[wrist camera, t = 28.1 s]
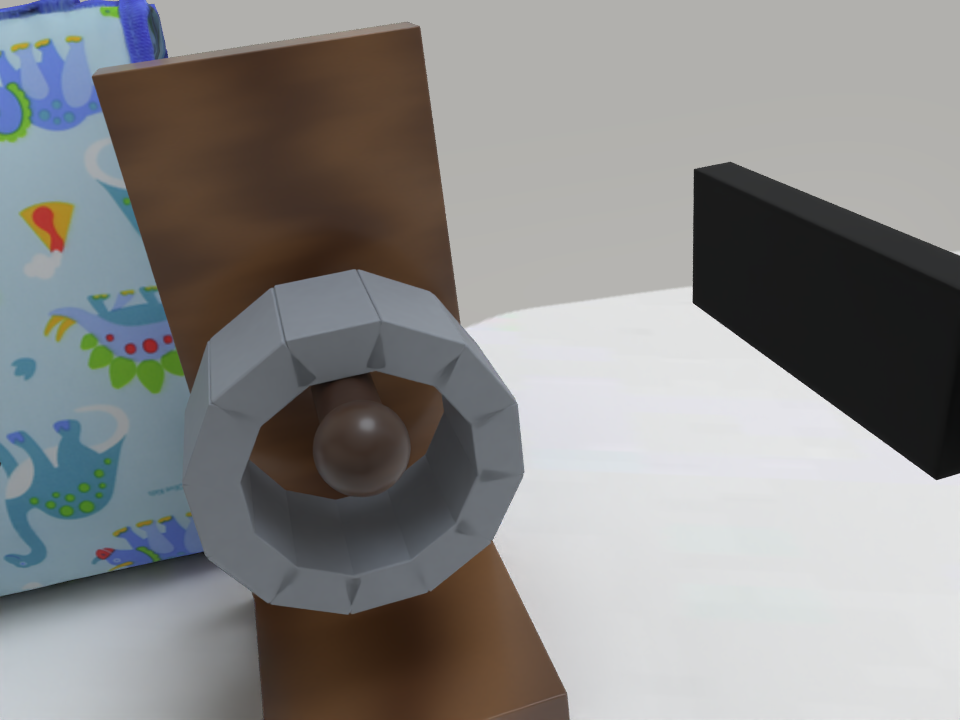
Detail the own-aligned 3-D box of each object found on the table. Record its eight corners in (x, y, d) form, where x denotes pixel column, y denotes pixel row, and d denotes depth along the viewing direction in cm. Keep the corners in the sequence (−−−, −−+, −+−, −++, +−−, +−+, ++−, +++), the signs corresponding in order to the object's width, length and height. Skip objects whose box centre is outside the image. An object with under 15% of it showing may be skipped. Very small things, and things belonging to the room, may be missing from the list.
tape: (235, 648, 30) (143, 370, 24) (231, 562, 34) (152, 309, 29) (534, 562, 32) (506, 292, 27) (495, 492, 36) (465, 245, 31)
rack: (281, 855, 29) (28, 146, 18) (259, 595, 40) (97, 68, 29) (584, 751, 31) (527, 63, 20) (480, 533, 43) (408, 21, 32)
